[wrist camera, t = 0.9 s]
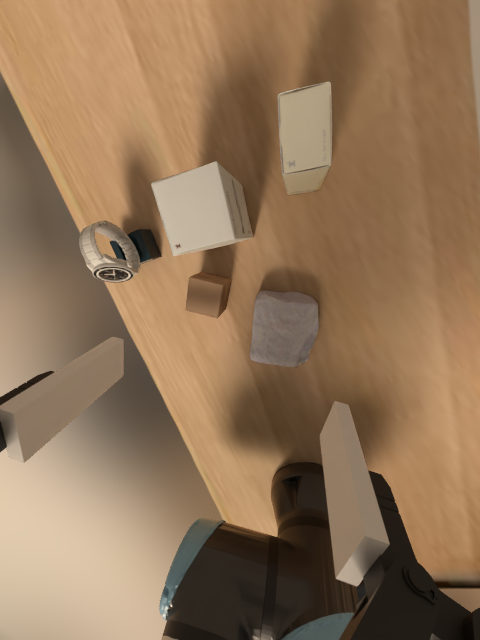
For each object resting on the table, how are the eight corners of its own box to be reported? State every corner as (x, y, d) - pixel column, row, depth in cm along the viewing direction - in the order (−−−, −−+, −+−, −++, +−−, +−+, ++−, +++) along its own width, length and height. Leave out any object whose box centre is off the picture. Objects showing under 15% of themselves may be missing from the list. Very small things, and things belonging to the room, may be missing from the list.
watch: (138, 277, 42) (89, 292, 32) (118, 230, 40) (58, 229, 30) (166, 268, 41) (124, 280, 30) (146, 217, 38) (93, 213, 28)
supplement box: (255, 238, 36) (236, 242, 25) (208, 249, 38) (170, 258, 27) (244, 183, 34) (217, 158, 22) (195, 198, 36) (147, 182, 24)
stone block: (317, 290, 39) (253, 287, 39) (326, 299, 34) (254, 296, 34) (305, 356, 43) (248, 353, 43) (312, 372, 39) (249, 369, 39)
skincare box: (320, 190, 33) (333, 169, 21) (285, 195, 34) (281, 178, 22) (319, 134, 31) (334, 78, 19) (283, 141, 32) (276, 92, 20)
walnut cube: (226, 308, 41) (217, 318, 36) (197, 301, 41) (185, 310, 37) (231, 279, 39) (223, 285, 34) (201, 271, 40) (189, 277, 35)
